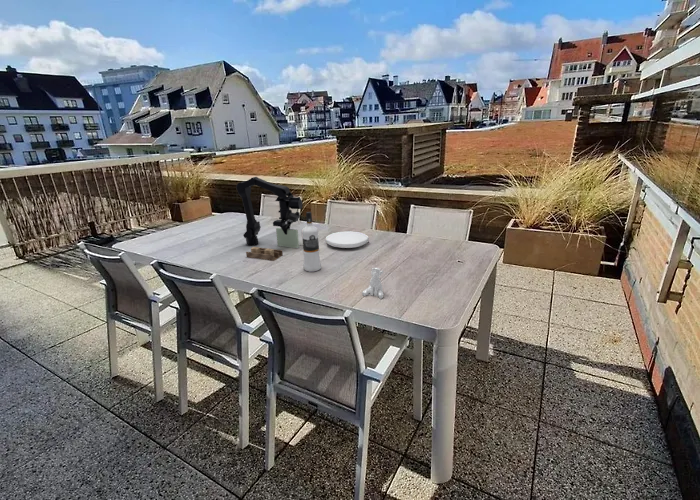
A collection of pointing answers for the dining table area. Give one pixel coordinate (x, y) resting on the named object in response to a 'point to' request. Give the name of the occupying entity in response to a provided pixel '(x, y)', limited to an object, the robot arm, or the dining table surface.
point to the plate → (347, 239)
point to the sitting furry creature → (374, 284)
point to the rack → (265, 255)
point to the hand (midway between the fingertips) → (286, 234)
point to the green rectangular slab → (287, 238)
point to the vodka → (310, 246)
